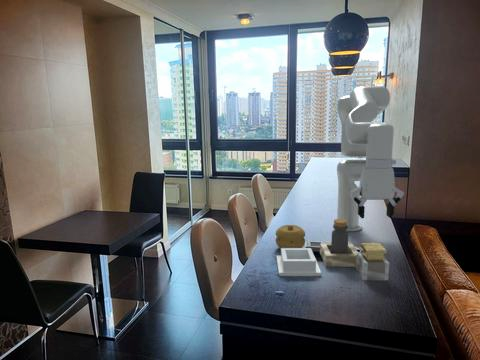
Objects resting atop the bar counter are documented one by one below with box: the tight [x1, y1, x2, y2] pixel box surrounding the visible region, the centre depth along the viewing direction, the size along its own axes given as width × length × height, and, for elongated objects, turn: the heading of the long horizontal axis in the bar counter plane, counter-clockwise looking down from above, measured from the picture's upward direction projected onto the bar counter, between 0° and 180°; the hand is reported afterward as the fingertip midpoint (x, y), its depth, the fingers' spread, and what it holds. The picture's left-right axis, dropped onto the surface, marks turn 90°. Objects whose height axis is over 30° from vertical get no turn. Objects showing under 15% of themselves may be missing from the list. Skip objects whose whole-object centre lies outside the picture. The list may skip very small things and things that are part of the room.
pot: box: [275, 224, 306, 250], centre depth 139 cm, size 12×12×10 cm
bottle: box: [330, 218, 349, 254], centre depth 128 cm, size 6×6×15 cm
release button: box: [359, 242, 388, 262], centre depth 116 cm, size 6×6×6 cm
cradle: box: [276, 247, 322, 277], centre depth 124 cm, size 14×14×5 cm
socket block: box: [319, 242, 390, 281], centre depth 124 cm, size 22×18×6 cm
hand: (375, 216), depth 114 cm, fingers open, 8 cm apart
